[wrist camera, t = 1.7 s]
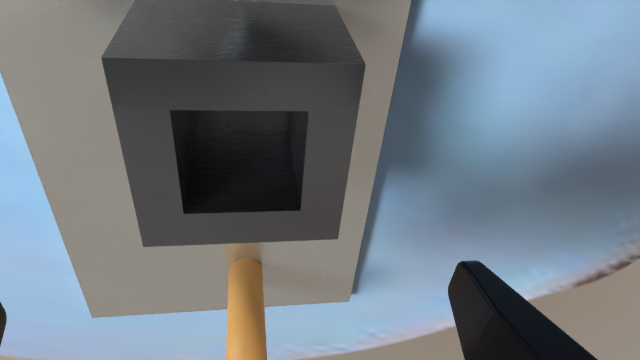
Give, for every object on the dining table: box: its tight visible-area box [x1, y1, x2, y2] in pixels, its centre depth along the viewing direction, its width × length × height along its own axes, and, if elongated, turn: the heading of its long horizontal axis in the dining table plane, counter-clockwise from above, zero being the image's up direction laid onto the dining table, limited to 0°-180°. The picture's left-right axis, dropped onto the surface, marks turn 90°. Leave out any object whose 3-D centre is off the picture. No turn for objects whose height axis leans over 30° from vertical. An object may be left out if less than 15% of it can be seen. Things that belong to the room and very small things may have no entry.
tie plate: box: [0, 0, 411, 318], centre depth 16 cm, size 13×21×4 cm, turn 175°
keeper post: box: [226, 258, 267, 360], centre depth 20 cm, size 2×2×5 cm
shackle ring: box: [101, 0, 366, 247], centre depth 14 cm, size 6×6×4 cm
